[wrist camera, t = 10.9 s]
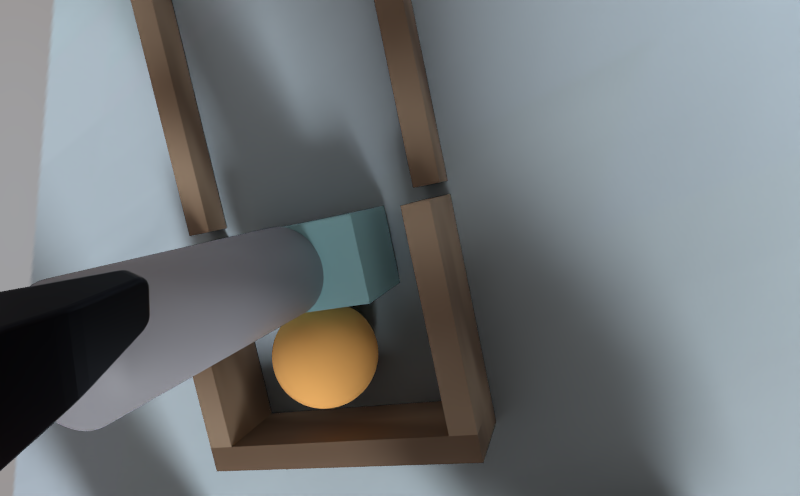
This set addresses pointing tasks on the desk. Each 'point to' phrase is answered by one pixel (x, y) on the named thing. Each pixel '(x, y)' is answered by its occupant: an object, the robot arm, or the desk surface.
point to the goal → (433, 266)
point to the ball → (325, 357)
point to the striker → (234, 301)
